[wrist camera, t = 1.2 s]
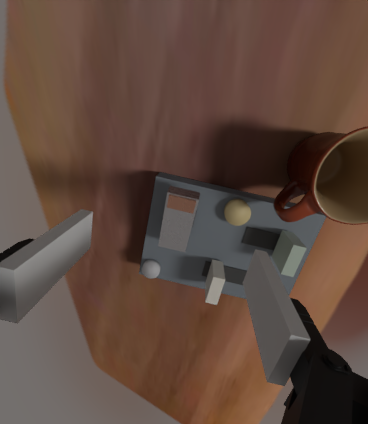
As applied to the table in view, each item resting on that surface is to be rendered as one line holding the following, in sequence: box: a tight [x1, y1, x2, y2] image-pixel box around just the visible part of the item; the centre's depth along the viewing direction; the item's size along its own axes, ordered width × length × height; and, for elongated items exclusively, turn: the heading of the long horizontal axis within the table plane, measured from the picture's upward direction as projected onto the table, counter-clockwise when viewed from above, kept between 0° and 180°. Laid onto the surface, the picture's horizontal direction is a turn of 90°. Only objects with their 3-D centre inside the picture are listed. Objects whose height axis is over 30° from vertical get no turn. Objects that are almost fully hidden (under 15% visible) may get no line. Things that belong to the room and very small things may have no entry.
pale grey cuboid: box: [205, 259, 225, 305], centre depth 30 cm, size 4×2×4 cm, turn 168°
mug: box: [273, 127, 368, 225], centre depth 25 cm, size 12×9×10 cm
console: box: [139, 172, 326, 299], centre depth 32 cm, size 15×22×4 cm
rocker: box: [158, 186, 200, 252], centre depth 27 cm, size 8×4×2 cm, turn 167°
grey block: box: [272, 230, 307, 277], centre depth 28 cm, size 4×2×4 cm, turn 168°
